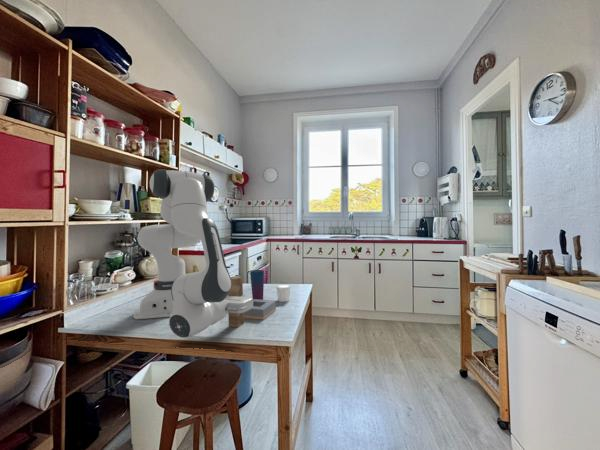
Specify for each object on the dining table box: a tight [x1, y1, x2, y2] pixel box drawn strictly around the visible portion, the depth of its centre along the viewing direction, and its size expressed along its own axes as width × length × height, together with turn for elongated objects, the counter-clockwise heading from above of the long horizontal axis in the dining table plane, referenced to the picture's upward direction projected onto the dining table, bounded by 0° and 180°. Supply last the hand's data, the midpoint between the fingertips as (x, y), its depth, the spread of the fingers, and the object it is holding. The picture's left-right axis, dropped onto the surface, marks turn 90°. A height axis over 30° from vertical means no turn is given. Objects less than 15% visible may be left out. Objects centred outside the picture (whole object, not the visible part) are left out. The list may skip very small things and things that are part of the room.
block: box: [227, 276, 245, 328], centre depth 101 cm, size 4×4×18 cm
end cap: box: [243, 298, 277, 320], centre depth 113 cm, size 12×12×4 cm
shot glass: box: [275, 284, 291, 303], centre depth 131 cm, size 7×7×7 cm
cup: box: [249, 269, 265, 300], centre depth 130 cm, size 7×7×15 cm
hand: (236, 296), depth 102 cm, fingers closed on block, 4 cm apart
